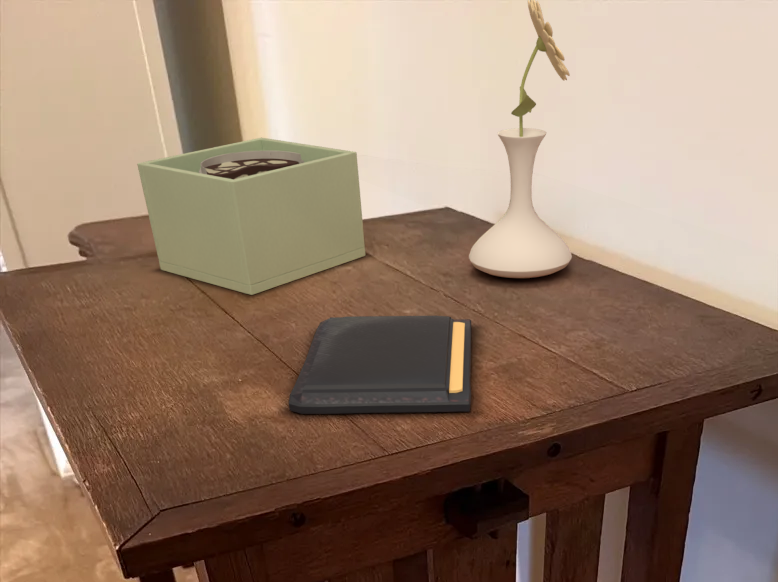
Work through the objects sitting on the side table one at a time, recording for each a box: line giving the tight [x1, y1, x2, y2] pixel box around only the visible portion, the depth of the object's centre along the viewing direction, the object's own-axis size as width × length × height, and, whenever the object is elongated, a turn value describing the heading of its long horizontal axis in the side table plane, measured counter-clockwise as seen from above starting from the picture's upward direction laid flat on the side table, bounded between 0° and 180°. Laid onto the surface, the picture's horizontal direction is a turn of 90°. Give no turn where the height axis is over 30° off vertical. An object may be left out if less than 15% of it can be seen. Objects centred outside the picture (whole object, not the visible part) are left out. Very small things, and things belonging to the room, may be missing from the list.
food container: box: [199, 151, 304, 180], centre depth 103 cm, size 12×6×10 cm, turn 127°
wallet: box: [288, 315, 472, 415], centre depth 80 cm, size 20×2×15 cm
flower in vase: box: [468, 0, 573, 279], centre depth 95 cm, size 13×11×25 cm
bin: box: [136, 137, 366, 296], centre depth 103 cm, size 16×18×11 cm
